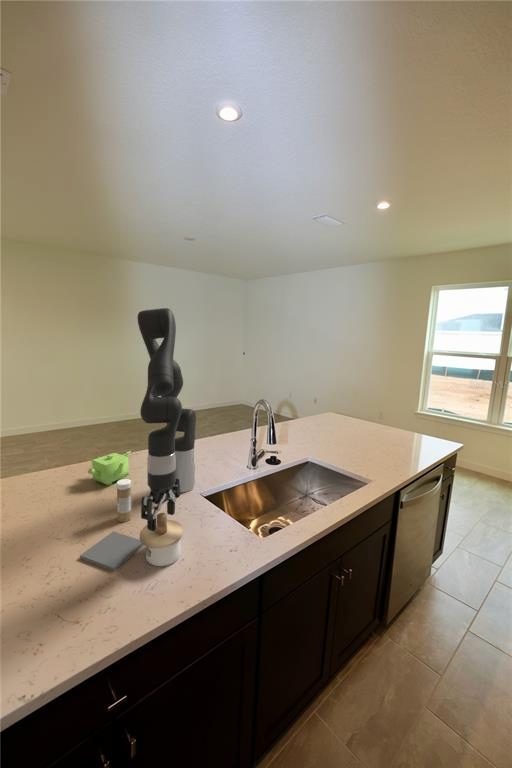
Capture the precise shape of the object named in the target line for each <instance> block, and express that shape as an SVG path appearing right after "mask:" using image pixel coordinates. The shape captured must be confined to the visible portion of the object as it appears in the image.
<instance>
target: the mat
mask: <svg viewBox="0 0 512 768" xmlns="http://www.w3.org/2000/svg"><path fill="white" fill-rule="evenodd" d="M143 546H144V545H143V544H142V543H141V541H140V538H136V537H132V536H129V535H126V534H123V533H120V532H117V531H113V530H112V531H111V532H110V533H109V534H108V535H106V536H104V537H103V538H102V539H101V540H99V541H98V542H96V543H95V544H94V545H92V546H90V548H88V549H87V550H85V551H84V552H83V553H81V554H80V555H79V559H80V560H83V561H86V562H88V563H91V564H93V565H95V566H99V567H101V568H104V569H106V570H109V571H113V572H115V571H116V570H117V569H119V567H121V566H122V565H123V564H124V563H125V562H126V561H128V560H129V558H131V557H132V556H133V555H135V554H136V553H137V552H138V551H139V550H140V549H141V548H143Z"/></svg>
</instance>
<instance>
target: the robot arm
mask: <svg viewBox="0 0 512 768" xmlns="http://www.w3.org/2000/svg"><path fill="white" fill-rule="evenodd" d="M137 324H138V329H139V332H140V335H141V338H142V339H143V342H144V343H143V344H145V348H146V350H147V353H148V356H149V359H150V360H149V362H148V364H147V365H148V366H147V387H146V391H145V394H144V397H143V400H142V403H141V407H140V411H139V412H140V413H139V414H140V416H141V417H140V418H141V419H142V421H143V422H145V423H146V424H166V425H165V427H162V428H159V429H156V430H153V431H151V432H150V433H149V434H148V437H147V439H148V440H147V441H148V442H147V443H148V444H147V450H148V451H147V452H148V453H147V462H146V463H147V466H146V467H147V468H146V469H147V486H148V487H149V489H150V493H149V495H148V496H142V498H141V502H140V504H141V505H140V507H141V509H140V518H141V519H142V520H146V521H147V522H146V525H147V528H148V529H149V530H151V531H155V530H156V521H157V515H158V513H159V511H160V510H161V508H162V506H163V505H164V503H165V502H166V514H167V515H170V516H173V515H175V514H176V502H177V498H178V499H179V498H180V496H181V493H188V492H190V491H192V490H193V489H194V487H195V486H194V485H196V484H195V480H196V479H195V478H196V477H195V473H196V471H195V470H196V465H195V464H196V463H195V441H196V429H197V428H196V426H197V415H196V414H197V413H196V411H195V410H194V409H191V408H183V405H182V403H181V400H180V399H179V398H178V396H179V394H180V393H181V391H182V389H183V386H184V378H183V374H182V369H181V367H180V365H179V363H178V362H177V361H176V360H175V359H174V352H175V351H174V350H175V346H176V331H177V330H176V329H177V325H176V320H175V315H174V313H173V310H171V309H170V308H167V307H164V308H154V309H145V310H140V311H139V312H138V313H137ZM157 339H158V340H159V339H162V342H161V343H160V345H159V343H158V341H157ZM177 432H182V433H183V436H181V437H177V438H176V433H177ZM153 504H155V505H156V506H155V505H153ZM152 511H153V512H152Z"/></svg>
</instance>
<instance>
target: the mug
mask: <svg viewBox="0 0 512 768" xmlns="http://www.w3.org/2000/svg"><path fill="white" fill-rule="evenodd" d="M181 553H182V544H181V539H180V540H179V541H178V542H176V543H175V544H173V545H170V546H167V547H163V548H150V547H147V546H146V551H145V558H146V561H147V563H149V565H152V566H154V567H166V566H170V565H172V564H173V563H175V562H176V561H177V560H178V559H179V558H180V557H181Z"/></svg>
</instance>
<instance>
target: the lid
mask: <svg viewBox="0 0 512 768" xmlns="http://www.w3.org/2000/svg"><path fill="white" fill-rule="evenodd" d="M183 535H184V527H183V525H182V524H181V523H180V522H178V521H176V520H174V519H173V520H172V519H168V513H167V512H160V513H159V512H158V513H157V515H156V530H155V531H151V530H149V529H148V528H147V524H146V525H145V526H144V527H143V528H142V529H141V530H140V532H139V540H140V541H141V543H142V544H143V546H144V547H146V548H147V547H150V548H163V547H167V546H170V545H173V544H175V543H176V542H178V541H179V540H180V541H181V539H182V537H183Z"/></svg>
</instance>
